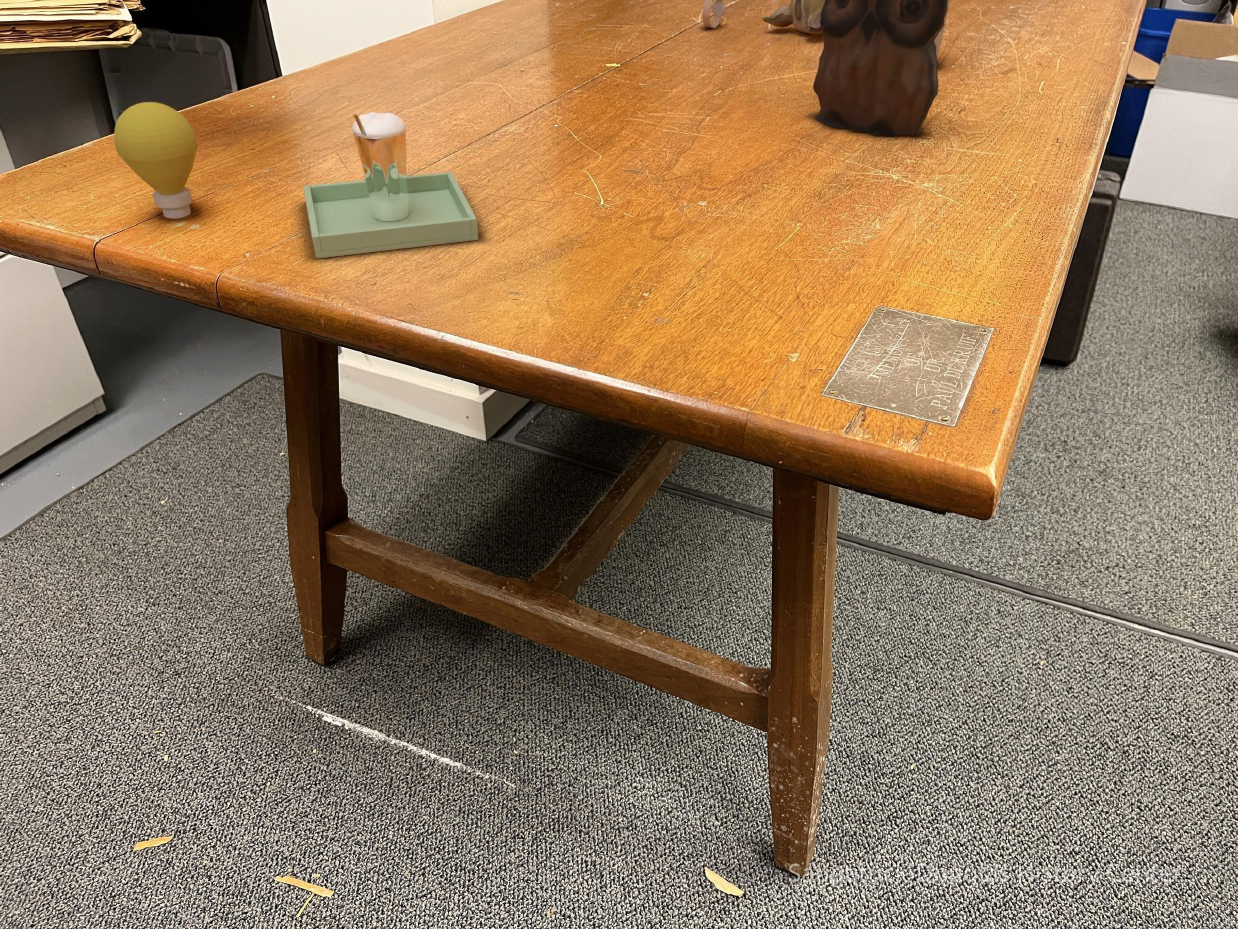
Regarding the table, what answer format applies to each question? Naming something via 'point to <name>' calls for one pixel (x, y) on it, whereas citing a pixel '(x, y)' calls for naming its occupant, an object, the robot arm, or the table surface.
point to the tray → (352, 228)
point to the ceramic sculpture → (799, 16)
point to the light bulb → (159, 153)
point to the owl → (878, 64)
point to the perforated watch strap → (717, 10)
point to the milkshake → (383, 163)
